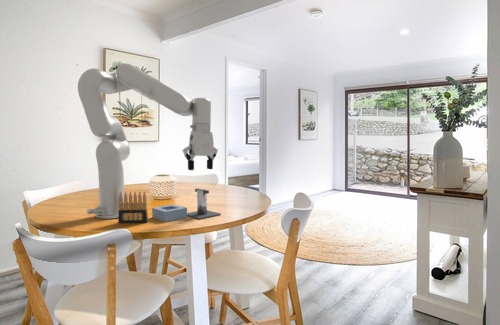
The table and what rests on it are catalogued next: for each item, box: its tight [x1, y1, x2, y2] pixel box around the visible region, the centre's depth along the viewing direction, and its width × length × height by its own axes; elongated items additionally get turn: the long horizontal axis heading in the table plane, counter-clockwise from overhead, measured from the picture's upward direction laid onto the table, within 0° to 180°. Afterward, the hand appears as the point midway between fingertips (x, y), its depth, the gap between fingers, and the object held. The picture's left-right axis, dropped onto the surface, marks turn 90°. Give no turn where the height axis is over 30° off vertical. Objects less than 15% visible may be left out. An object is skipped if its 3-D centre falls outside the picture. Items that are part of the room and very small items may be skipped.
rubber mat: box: [187, 209, 222, 221], centre depth 133 cm, size 11×11×1 cm
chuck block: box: [151, 204, 188, 223], centre depth 129 cm, size 10×10×4 cm
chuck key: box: [194, 188, 210, 215], centre depth 133 cm, size 4×8×10 cm, turn 46°
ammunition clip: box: [117, 191, 149, 224], centre depth 121 cm, size 11×2×12 cm, turn 95°
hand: (200, 169), depth 132 cm, fingers open, 9 cm apart
